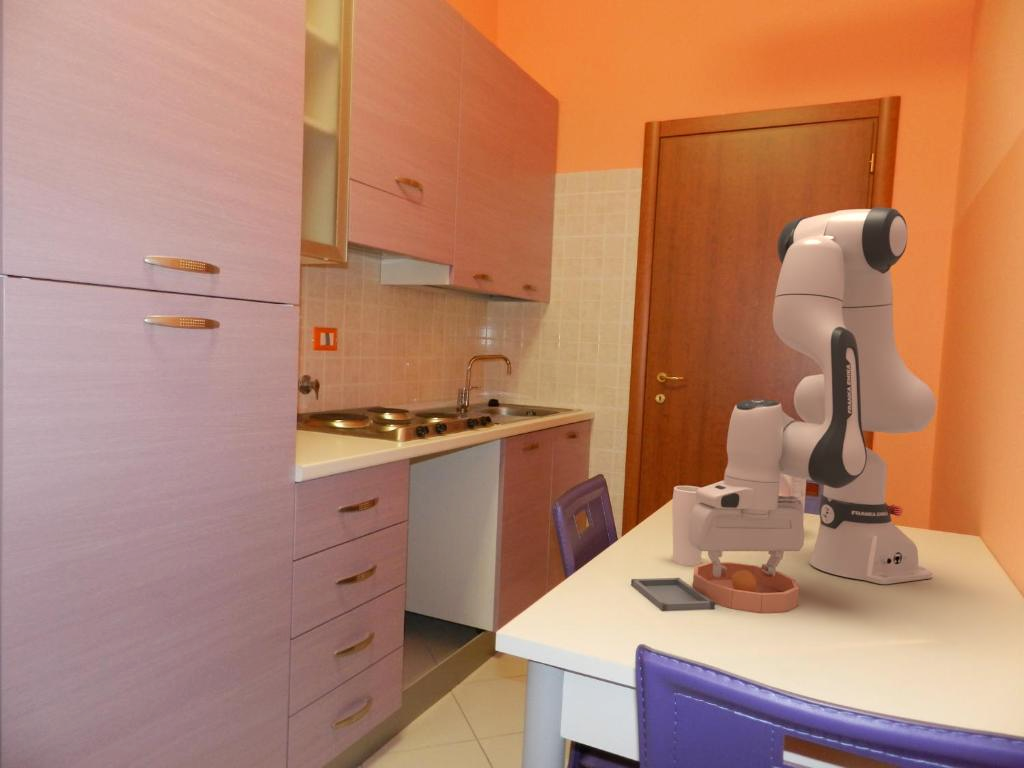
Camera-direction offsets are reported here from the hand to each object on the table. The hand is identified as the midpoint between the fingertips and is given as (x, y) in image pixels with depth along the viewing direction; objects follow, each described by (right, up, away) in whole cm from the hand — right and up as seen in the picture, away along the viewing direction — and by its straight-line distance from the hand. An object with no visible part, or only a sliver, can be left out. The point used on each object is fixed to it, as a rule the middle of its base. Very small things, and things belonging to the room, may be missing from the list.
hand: (743, 576), depth 115 cm
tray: (-13, -3, -3) cm, 14 cm away
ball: (0, -3, +1) cm, 3 cm away
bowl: (0, -4, +1) cm, 4 cm away
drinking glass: (-5, -3, +18) cm, 19 cm away
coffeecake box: (+23, -3, +51) cm, 56 cm away
